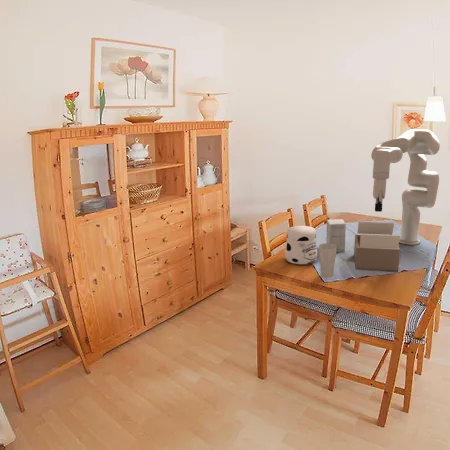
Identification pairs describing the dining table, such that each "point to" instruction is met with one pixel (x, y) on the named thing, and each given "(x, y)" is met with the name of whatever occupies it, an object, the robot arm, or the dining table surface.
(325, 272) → the cup
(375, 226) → the back flap
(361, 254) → the carton
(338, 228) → the small drawer cabinet
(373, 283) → the dining table surface
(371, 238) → the front flap
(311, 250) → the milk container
